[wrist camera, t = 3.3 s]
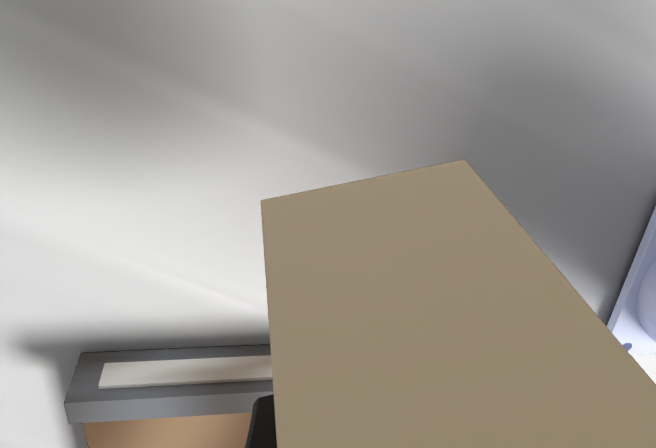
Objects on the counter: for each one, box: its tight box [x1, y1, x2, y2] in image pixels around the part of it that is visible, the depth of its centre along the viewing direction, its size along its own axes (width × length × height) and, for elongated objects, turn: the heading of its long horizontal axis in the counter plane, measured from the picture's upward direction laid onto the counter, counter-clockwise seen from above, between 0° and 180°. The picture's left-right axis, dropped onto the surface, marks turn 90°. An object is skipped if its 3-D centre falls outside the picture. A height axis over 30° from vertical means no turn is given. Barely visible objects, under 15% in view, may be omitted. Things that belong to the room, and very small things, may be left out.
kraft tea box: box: [261, 159, 656, 448], centre depth 9 cm, size 4×6×7 cm, turn 9°
